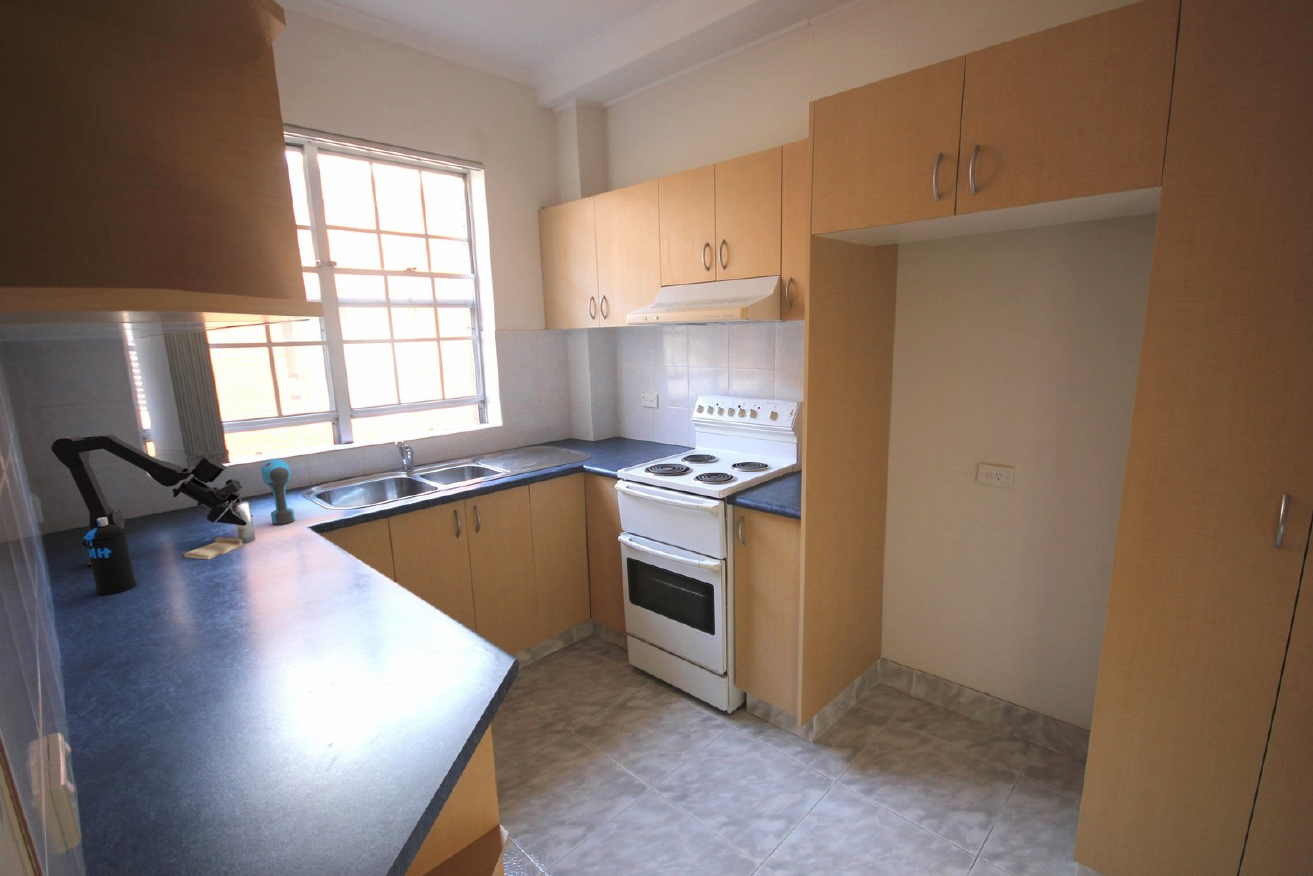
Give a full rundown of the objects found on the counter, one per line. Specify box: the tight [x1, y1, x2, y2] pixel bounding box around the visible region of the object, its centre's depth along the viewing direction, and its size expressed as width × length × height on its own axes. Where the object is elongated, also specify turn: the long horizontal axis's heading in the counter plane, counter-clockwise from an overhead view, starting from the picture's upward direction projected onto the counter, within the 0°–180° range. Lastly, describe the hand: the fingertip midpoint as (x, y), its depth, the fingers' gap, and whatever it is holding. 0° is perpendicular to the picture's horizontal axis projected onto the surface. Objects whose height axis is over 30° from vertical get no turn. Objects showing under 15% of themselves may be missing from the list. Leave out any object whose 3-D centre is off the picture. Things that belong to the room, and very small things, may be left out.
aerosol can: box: [83, 517, 138, 596], centre depth 156 cm, size 8×8×20 cm
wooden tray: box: [183, 536, 244, 560], centre depth 184 cm, size 11×10×3 cm
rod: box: [233, 500, 256, 545], centre depth 192 cm, size 4×4×13 cm
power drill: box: [260, 458, 296, 526], centre depth 214 cm, size 28×9×23 cm, turn 40°
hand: (249, 520), depth 192 cm, fingers open, 8 cm apart
